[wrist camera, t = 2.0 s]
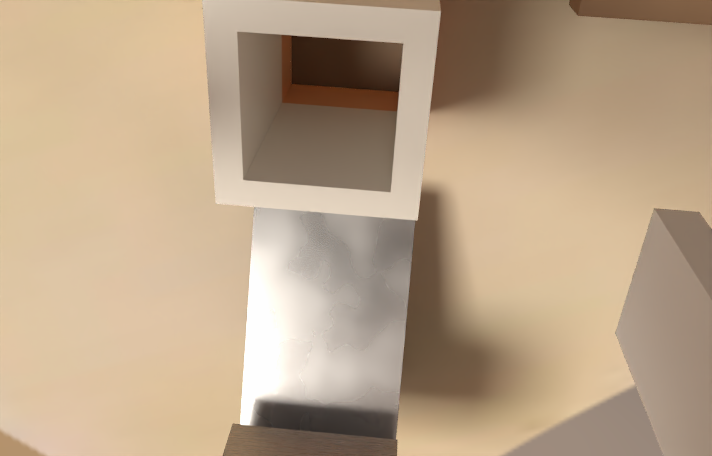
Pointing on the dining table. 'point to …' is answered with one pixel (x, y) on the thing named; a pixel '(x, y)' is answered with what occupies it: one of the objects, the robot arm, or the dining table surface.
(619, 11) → the pin board
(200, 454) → the dining table surface
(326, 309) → the chute
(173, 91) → the dining table surface
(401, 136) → the sleeve
